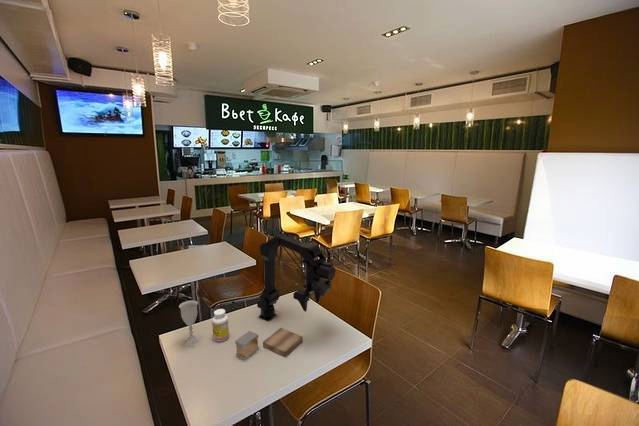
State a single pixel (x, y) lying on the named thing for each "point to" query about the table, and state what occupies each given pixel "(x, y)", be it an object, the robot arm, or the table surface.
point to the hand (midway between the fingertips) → (311, 306)
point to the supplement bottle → (220, 325)
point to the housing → (247, 345)
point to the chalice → (189, 319)
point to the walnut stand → (282, 342)
